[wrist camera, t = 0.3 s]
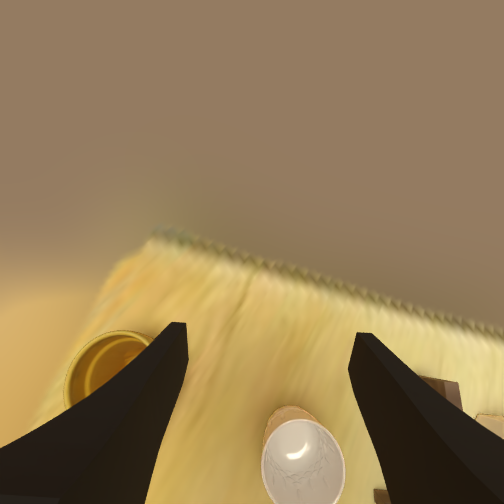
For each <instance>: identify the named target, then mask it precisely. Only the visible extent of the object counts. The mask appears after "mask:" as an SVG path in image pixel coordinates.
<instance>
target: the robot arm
mask: <svg viewBox="0 0 504 504" xmlns="http://www.w3.org/2000/svg"><path fill="white" fill-rule="evenodd" d="M188 360H189V359H188V344H187V328H186V323H180V322H171V323H170V324H169V325H168V326H167V327H166V328H165V329H164V330H163V331H162V332H161V333H160V334H159V335H158V336H157V337H156V338H155V339H154V340H153V341H152V342H151V343H150V344H149V345H148V346H147V347H146V348H145V349H144V350H143V351H142V352H141V353H140V354H139V355H138V356H136V357H135V358H134V359H133V360H132V361H131V362H130V363H129V364H127V365H126V366H125V367H124V368H123V369H122V370H121V371H119V372H118V373H117V374H116V375H115V376H113V377H112V378H111V379H110V380H108V381H107V382H106V383H105V384H103V385H102V386H101V387H99V388H98V389H97V390H95V391H94V392H93V393H91V394H90V395H88V396H87V397H86V398H84V399H83V400H81V401H80V402H78V403H77V404H75V405H73V406H72V407H70V408H69V409H67V410H66V411H64V412H63V413H61V414H60V415H58V416H57V417H55V418H53V419H52V420H50V421H48V422H47V423H45V424H43V425H42V426H40V427H38V428H37V429H35V430H33V431H31V432H30V433H28V434H26V435H24V436H22V437H21V438H19V439H17V440H15V441H13V442H11V443H10V444H8V445H6V446H4V447H2V448H0V504H145V500H146V496H147V492H148V489H149V485H150V481H151V477H152V474H153V470H154V466H155V463H156V459H157V455H158V452H159V449H160V445H161V442H162V439H163V437H164V434H165V431H166V428H167V426H168V423H169V420H170V417H171V415H172V412H173V409H174V407H175V404H176V401H177V398H178V396H179V393H180V390H181V387H182V384H183V381H184V377H185V373H186V369H187V364H188ZM348 372H349V376H350V380H351V384H352V388H353V392H354V395H355V398H356V401H357V403H358V406H359V409H360V411H361V414H362V417H363V419H364V422H365V425H366V427H367V430H368V433H369V435H370V438H371V440H372V443H373V446H374V448H375V451H376V454H377V457H378V460H379V463H380V466H381V469H382V473H383V476H384V480H385V483H386V487H387V490H388V494H389V497H390V501H391V504H504V439H502V438H501V437H499V436H498V435H496V434H495V433H493V432H492V431H490V430H489V429H487V428H486V427H484V426H483V425H481V424H480V423H478V422H477V421H476V420H474V419H473V418H471V417H470V416H469V415H467V414H466V413H464V412H463V411H462V410H460V409H459V408H458V407H456V406H455V405H454V404H452V403H451V402H450V401H448V400H447V399H446V398H444V397H443V396H442V395H441V394H439V393H438V392H437V391H436V390H435V389H433V388H432V387H431V386H430V385H429V384H427V383H426V382H425V381H424V380H423V379H421V378H420V377H419V376H418V375H417V374H416V373H415V372H413V371H412V370H411V369H410V368H409V367H408V366H407V365H406V364H404V363H403V362H402V361H401V360H400V359H399V358H398V357H397V356H396V355H395V354H394V353H393V352H392V351H390V350H389V349H388V348H387V347H386V346H385V345H384V344H383V343H382V342H381V341H380V340H379V339H378V338H376V337H375V336H374V335H373V334H372V333H361V332H357V333H356V338H355V342H354V346H353V350H352V354H351V358H350V362H349V366H348Z"/></svg>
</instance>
